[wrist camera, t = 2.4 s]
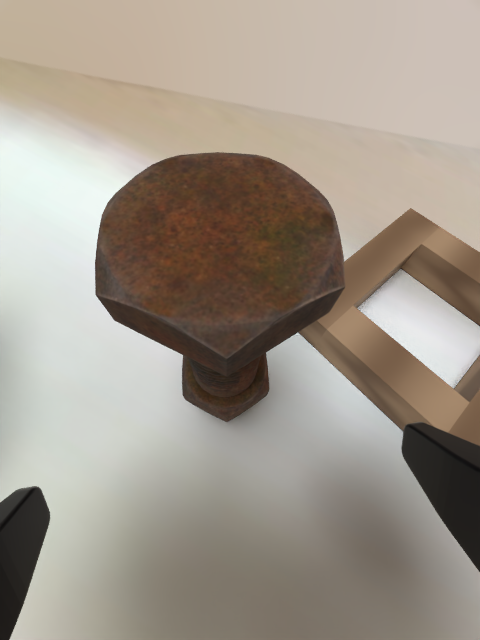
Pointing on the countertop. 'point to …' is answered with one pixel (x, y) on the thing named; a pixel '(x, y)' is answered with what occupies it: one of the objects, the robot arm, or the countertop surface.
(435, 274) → the block
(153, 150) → the countertop surface
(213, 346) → the bolt
